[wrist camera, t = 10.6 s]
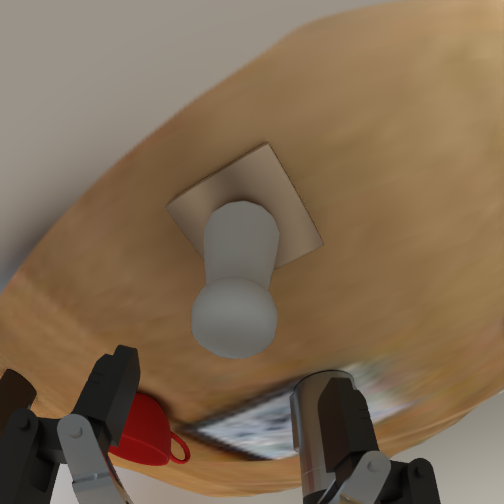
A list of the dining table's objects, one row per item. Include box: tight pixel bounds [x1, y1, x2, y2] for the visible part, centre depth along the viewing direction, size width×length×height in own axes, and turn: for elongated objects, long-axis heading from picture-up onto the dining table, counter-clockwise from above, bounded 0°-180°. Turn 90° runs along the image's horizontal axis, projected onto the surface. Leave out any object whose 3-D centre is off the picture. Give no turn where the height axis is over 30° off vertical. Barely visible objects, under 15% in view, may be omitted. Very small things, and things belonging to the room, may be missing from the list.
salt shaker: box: [191, 201, 280, 359], centre depth 19 cm, size 6×6×13 cm
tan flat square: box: [165, 142, 324, 270], centre depth 26 cm, size 10×10×2 cm
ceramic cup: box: [108, 393, 190, 466], centre depth 39 cm, size 13×17×10 cm
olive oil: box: [0, 369, 36, 439], centre depth 35 cm, size 11×11×25 cm
